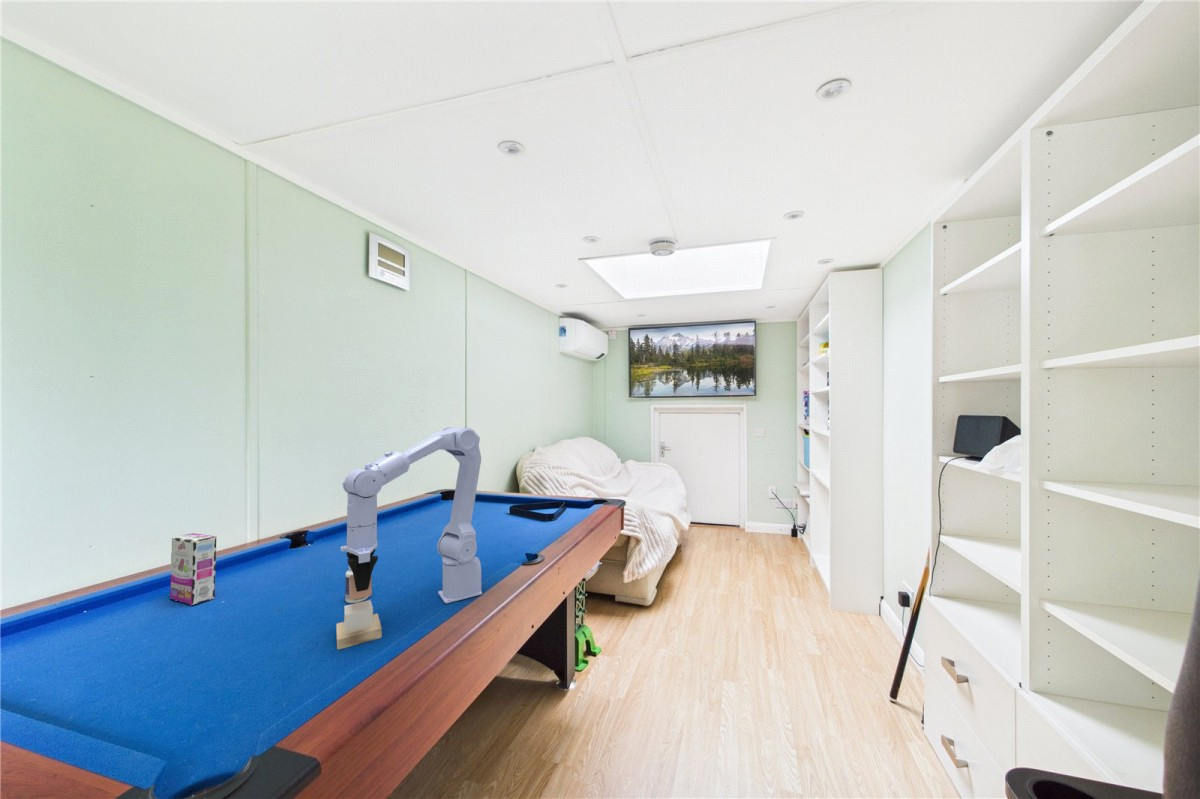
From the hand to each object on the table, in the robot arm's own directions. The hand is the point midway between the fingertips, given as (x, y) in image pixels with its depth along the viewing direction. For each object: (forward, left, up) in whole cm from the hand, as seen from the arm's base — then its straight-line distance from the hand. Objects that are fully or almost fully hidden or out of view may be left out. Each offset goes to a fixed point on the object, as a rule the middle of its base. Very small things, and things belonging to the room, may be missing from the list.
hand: (361, 586), depth 91 cm
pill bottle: (0, -20, -10) cm, 23 cm away
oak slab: (+1, +1, -10) cm, 10 cm away
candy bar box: (+36, -46, -10) cm, 59 cm away
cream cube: (+1, +1, -8) cm, 8 cm away
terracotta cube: (0, 0, -2) cm, 2 cm away
